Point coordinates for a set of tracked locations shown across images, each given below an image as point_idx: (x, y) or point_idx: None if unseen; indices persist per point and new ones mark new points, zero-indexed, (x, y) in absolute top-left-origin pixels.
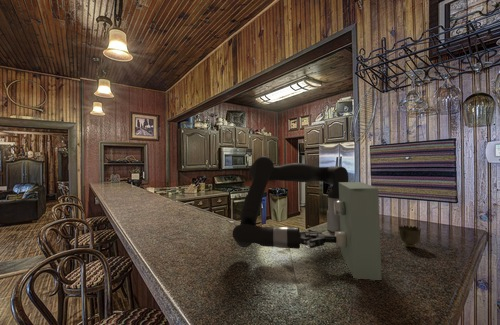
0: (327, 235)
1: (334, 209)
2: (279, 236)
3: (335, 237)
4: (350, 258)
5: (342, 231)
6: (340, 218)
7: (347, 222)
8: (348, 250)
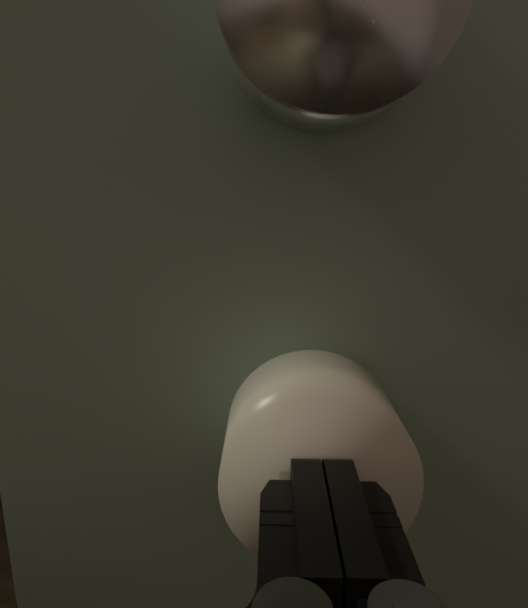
0: (320, 537)
1: (291, 15)
2: None
3: (351, 468)
4: (517, 531)
5: (132, 390)
6: (8, 257)
7: (475, 192)
8: (441, 489)
